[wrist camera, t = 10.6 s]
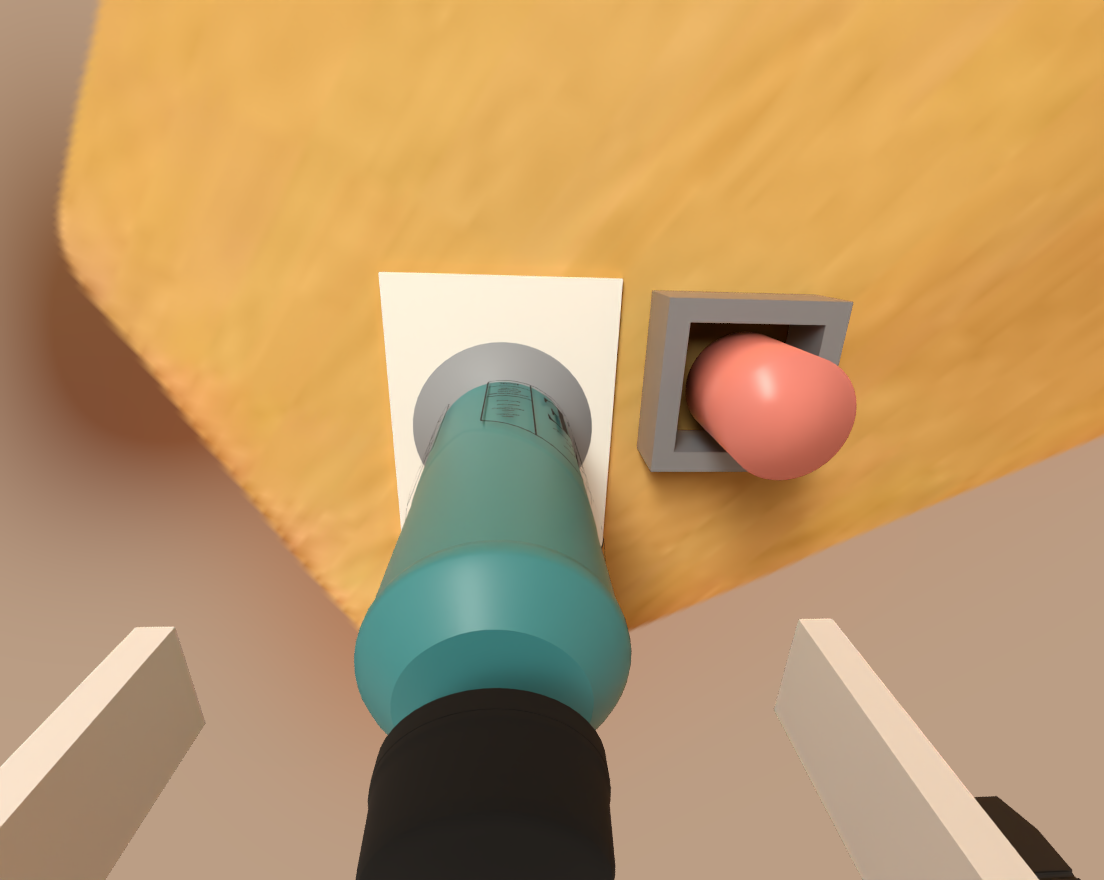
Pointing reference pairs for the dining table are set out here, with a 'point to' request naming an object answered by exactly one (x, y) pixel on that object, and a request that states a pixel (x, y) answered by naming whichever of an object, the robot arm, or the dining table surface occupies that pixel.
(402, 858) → the beverage bottle
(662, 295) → the button base
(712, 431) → the button
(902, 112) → the dining table surface
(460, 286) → the paper card
